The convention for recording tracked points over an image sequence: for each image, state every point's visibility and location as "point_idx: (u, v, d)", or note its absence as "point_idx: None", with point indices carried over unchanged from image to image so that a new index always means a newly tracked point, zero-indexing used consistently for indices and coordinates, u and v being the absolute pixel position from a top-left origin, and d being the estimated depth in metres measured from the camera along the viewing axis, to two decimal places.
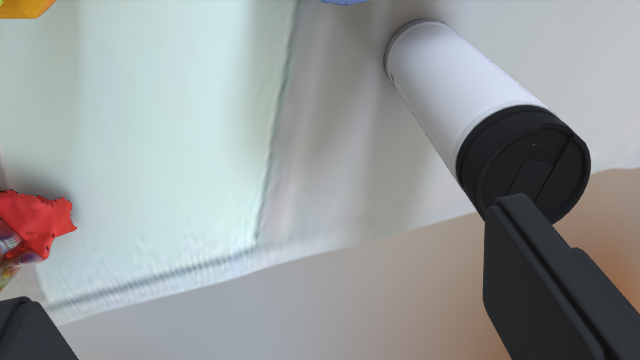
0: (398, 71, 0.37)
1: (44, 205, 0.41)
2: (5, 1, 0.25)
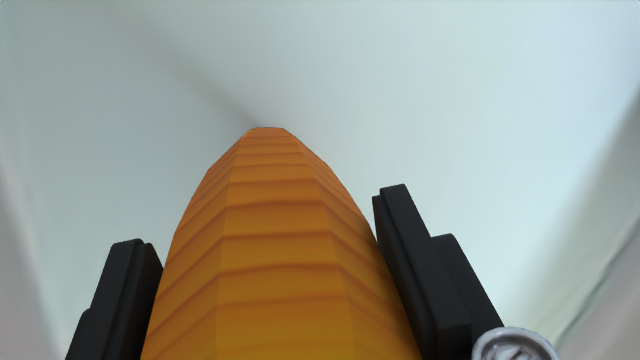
0: None
1: None
2: None
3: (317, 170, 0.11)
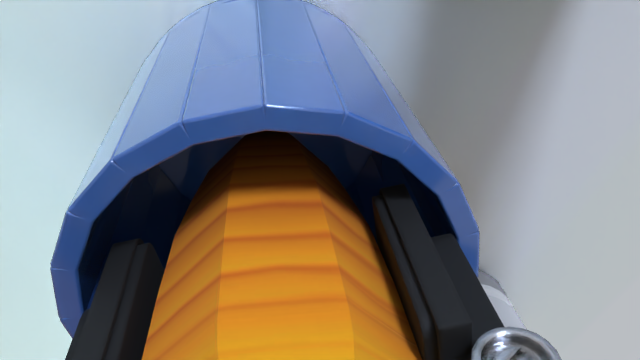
0: None
1: None
2: None
3: (317, 172, 0.11)
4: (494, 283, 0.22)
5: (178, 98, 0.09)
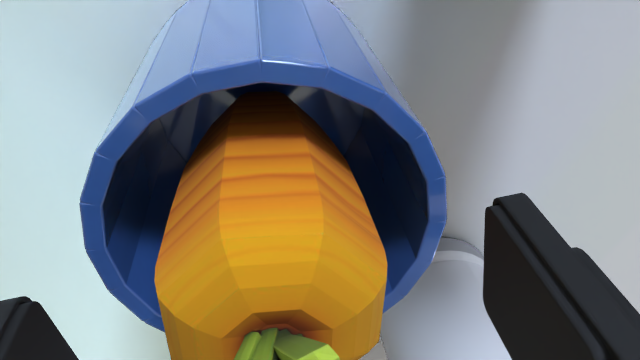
0: (391, 350, 0.22)
1: None
2: None
3: (303, 117, 0.14)
4: (476, 252, 0.24)
5: (188, 57, 0.11)
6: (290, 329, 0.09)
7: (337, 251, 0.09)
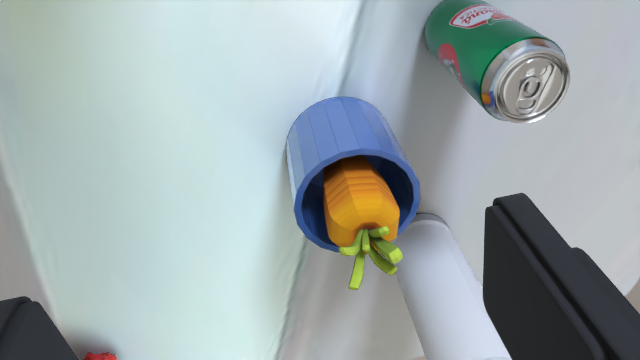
0: (398, 268, 0.44)
1: None
2: None
3: (366, 160, 0.36)
4: (442, 221, 0.46)
5: (334, 144, 0.33)
6: (371, 229, 0.31)
7: (385, 205, 0.31)
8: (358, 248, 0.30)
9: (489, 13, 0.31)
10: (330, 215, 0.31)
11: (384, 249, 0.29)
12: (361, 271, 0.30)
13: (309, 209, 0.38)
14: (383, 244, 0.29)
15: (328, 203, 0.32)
